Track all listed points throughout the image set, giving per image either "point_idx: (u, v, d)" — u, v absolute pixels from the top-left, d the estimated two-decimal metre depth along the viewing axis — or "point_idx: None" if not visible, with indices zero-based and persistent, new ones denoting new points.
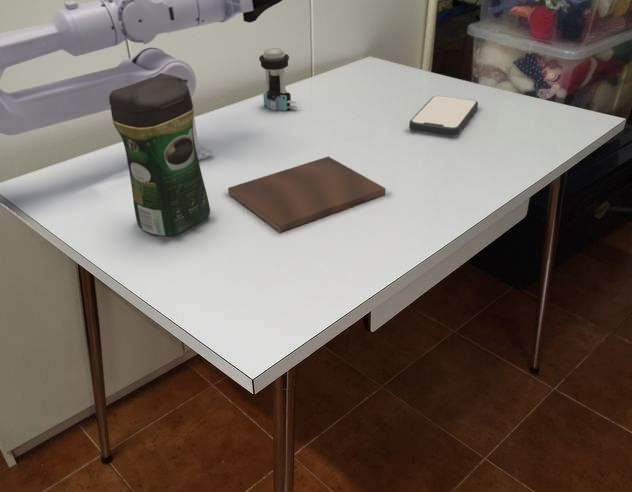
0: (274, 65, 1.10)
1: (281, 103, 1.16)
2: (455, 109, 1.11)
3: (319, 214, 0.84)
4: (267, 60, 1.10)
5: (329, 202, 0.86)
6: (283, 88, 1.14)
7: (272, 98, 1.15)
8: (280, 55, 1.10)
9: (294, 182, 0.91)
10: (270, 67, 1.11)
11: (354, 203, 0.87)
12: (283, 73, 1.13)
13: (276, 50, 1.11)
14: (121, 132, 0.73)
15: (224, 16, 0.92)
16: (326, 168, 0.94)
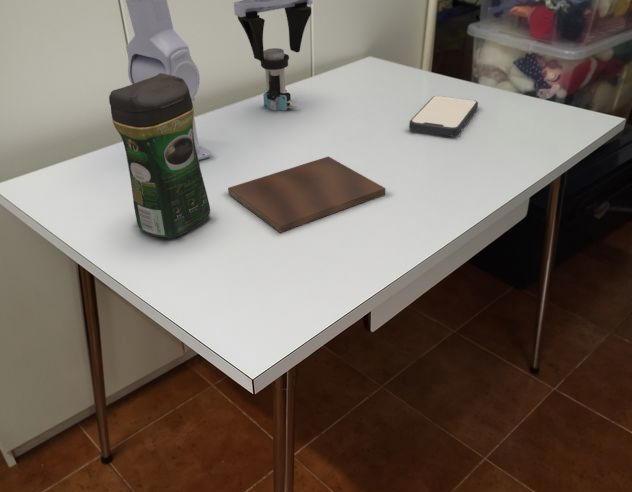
0: (274, 65, 1.10)
1: (281, 103, 1.16)
2: (455, 109, 1.11)
3: (319, 214, 0.84)
4: (267, 60, 1.10)
5: (329, 202, 0.86)
6: (283, 88, 1.14)
7: (272, 98, 1.15)
8: (280, 55, 1.10)
9: (294, 182, 0.91)
10: (270, 67, 1.11)
11: (354, 203, 0.87)
12: (283, 73, 1.13)
13: (276, 50, 1.11)
14: (121, 132, 0.73)
15: None
16: (326, 168, 0.94)
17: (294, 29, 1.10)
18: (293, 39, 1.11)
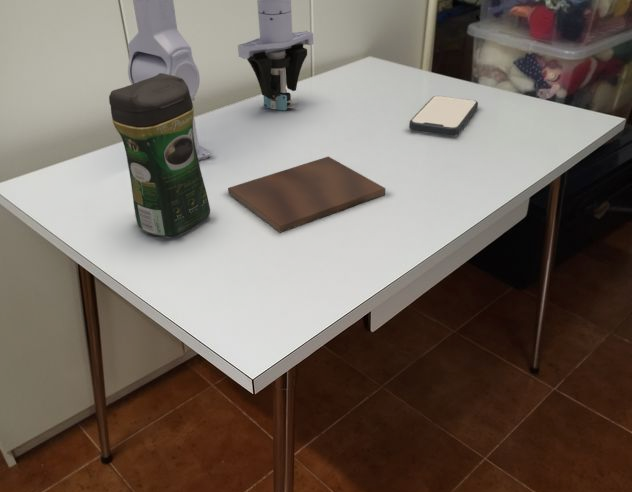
0: (275, 64, 1.10)
1: (281, 103, 1.15)
2: (455, 109, 1.11)
3: (319, 214, 0.84)
4: None
5: (329, 202, 0.86)
6: (283, 88, 1.14)
7: (272, 97, 1.15)
8: (282, 54, 1.10)
9: (294, 182, 0.91)
10: None
11: (354, 203, 0.87)
12: (284, 73, 1.13)
13: None
14: (121, 132, 0.73)
15: (292, 38, 1.09)
16: (326, 168, 0.94)
17: (291, 69, 1.14)
18: (290, 78, 1.15)
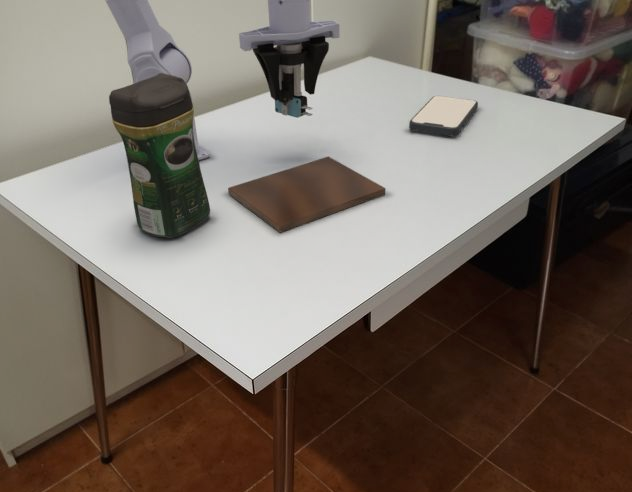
0: (286, 60, 0.88)
1: (294, 108, 0.93)
2: (455, 109, 1.11)
3: (319, 214, 0.84)
4: (278, 53, 0.88)
5: (329, 202, 0.86)
6: (297, 90, 0.92)
7: (284, 101, 0.93)
8: (296, 48, 0.88)
9: (294, 182, 0.91)
10: (281, 62, 0.89)
11: (354, 203, 0.87)
12: (298, 71, 0.91)
13: None
14: (121, 132, 0.73)
15: (309, 28, 0.86)
16: (326, 168, 0.94)
17: (308, 67, 0.92)
18: (307, 79, 0.93)
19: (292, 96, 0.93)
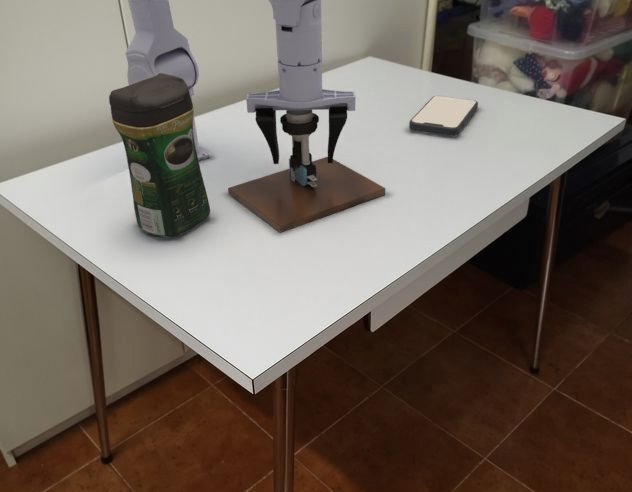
0: (290, 129, 0.85)
1: (301, 176, 0.90)
2: (455, 109, 1.11)
3: (319, 214, 0.84)
4: (284, 121, 0.85)
5: (329, 202, 0.86)
6: (304, 159, 0.88)
7: (293, 167, 0.90)
8: (302, 118, 0.84)
9: (294, 182, 0.91)
10: (286, 130, 0.85)
11: (354, 203, 0.87)
12: (306, 140, 0.86)
13: (303, 110, 0.85)
14: (121, 132, 0.73)
15: (316, 98, 0.82)
16: (326, 168, 0.94)
17: None
18: None
19: (300, 164, 0.89)
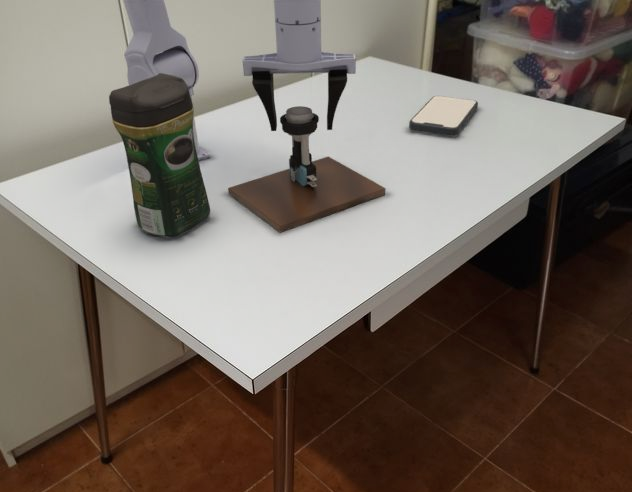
0: (290, 129, 0.85)
1: (300, 176, 0.90)
2: (455, 109, 1.11)
3: (319, 214, 0.84)
4: (284, 121, 0.85)
5: (329, 202, 0.86)
6: (304, 159, 0.88)
7: (293, 167, 0.90)
8: (302, 118, 0.84)
9: (294, 182, 0.91)
10: (286, 130, 0.85)
11: (354, 203, 0.87)
12: (305, 140, 0.86)
13: (303, 110, 0.85)
14: (121, 132, 0.73)
15: (315, 60, 0.79)
16: (326, 168, 0.94)
17: None
18: (327, 113, 0.85)
19: (300, 164, 0.89)
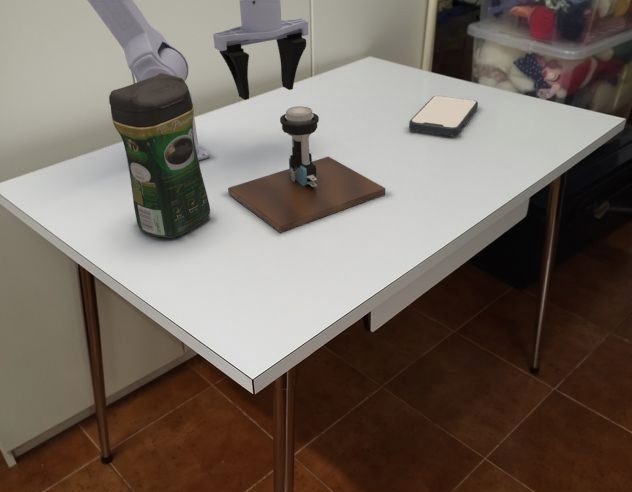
0: (290, 129, 0.85)
1: (300, 176, 0.90)
2: (455, 109, 1.11)
3: (319, 214, 0.84)
4: (284, 121, 0.85)
5: (329, 202, 0.86)
6: (304, 159, 0.88)
7: (293, 167, 0.90)
8: (302, 118, 0.84)
9: (294, 182, 0.91)
10: (286, 130, 0.85)
11: (354, 203, 0.87)
12: (305, 140, 0.86)
13: (303, 110, 0.85)
14: (121, 132, 0.73)
15: (281, 26, 0.89)
16: (326, 168, 0.94)
17: (286, 63, 0.94)
18: (285, 75, 0.96)
19: (300, 164, 0.89)
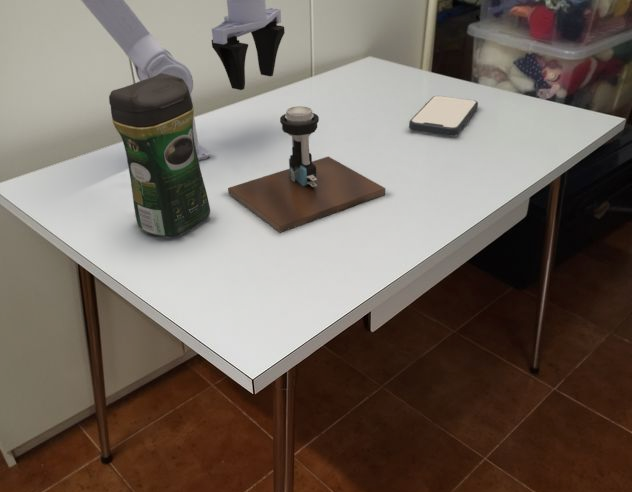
0: (290, 129, 0.85)
1: (300, 176, 0.90)
2: (455, 109, 1.11)
3: (319, 214, 0.84)
4: (284, 121, 0.85)
5: (329, 202, 0.86)
6: (304, 159, 0.88)
7: (293, 167, 0.90)
8: (302, 118, 0.84)
9: (294, 182, 0.91)
10: (286, 130, 0.85)
11: (354, 203, 0.87)
12: (305, 140, 0.86)
13: (303, 110, 0.85)
14: (121, 132, 0.73)
15: (266, 15, 0.94)
16: (326, 168, 0.94)
17: (266, 51, 1.00)
18: (265, 62, 1.01)
19: (300, 164, 0.89)
